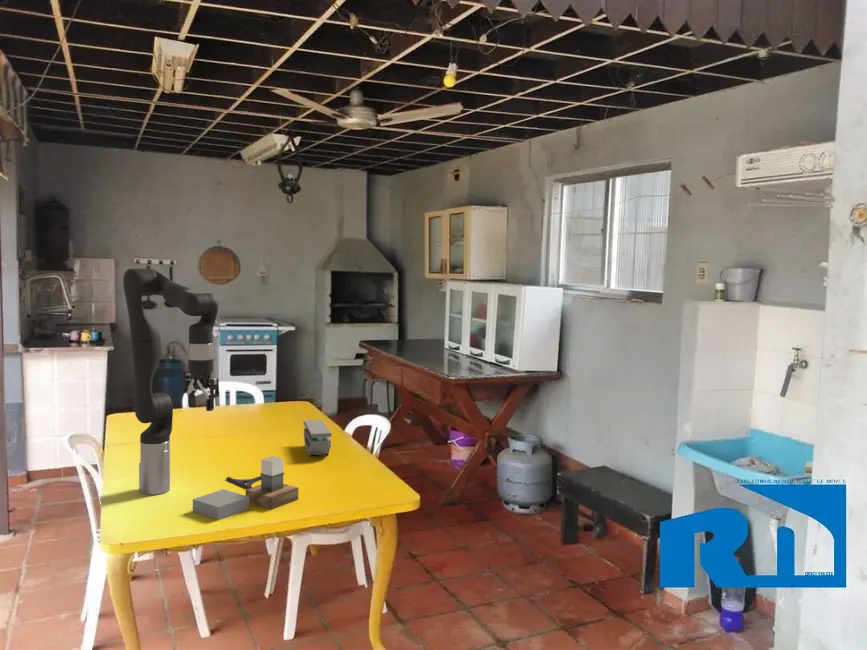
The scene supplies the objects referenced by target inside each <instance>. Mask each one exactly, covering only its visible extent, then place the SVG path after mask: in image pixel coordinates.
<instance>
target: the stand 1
mask: <svg viewBox="0 0 867 650" xmlns="http://www.w3.org/2000/svg"><path fill="white" fill-rule="evenodd" d="M246 510H247V511H248V510H250V503H249V497H248V496H246V494H240V493H238V492H234V491H231V490H227V489H225V488H224V489H220V490H217V491H214V492H211V493H208V494H205V495H200V496H198V497H195V498H192V513H197V514H199V515H202V516H205V517H207V518H210V519H214V520H216V521H221V520H224V519H225V518H229V517H231V516H234V515H236V514H239V513H242V512H245V511H246Z"/></svg>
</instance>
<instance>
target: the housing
mask: <svg viewBox="0 0 867 650" xmlns="http://www.w3.org/2000/svg"><path fill="white" fill-rule="evenodd" d="M260 463H261V464H260V465H261V466H260V467H261V468H260V470H261V471H260V473H259V476H261V480H260V485H261V489H262V490H266V491H269V492H274V491H277V490H280V489H283V484H284V475H285V472H284V458H282V457H277V456H274V455H272V456H268V457H265V458H262V459H261V460H260Z"/></svg>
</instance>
